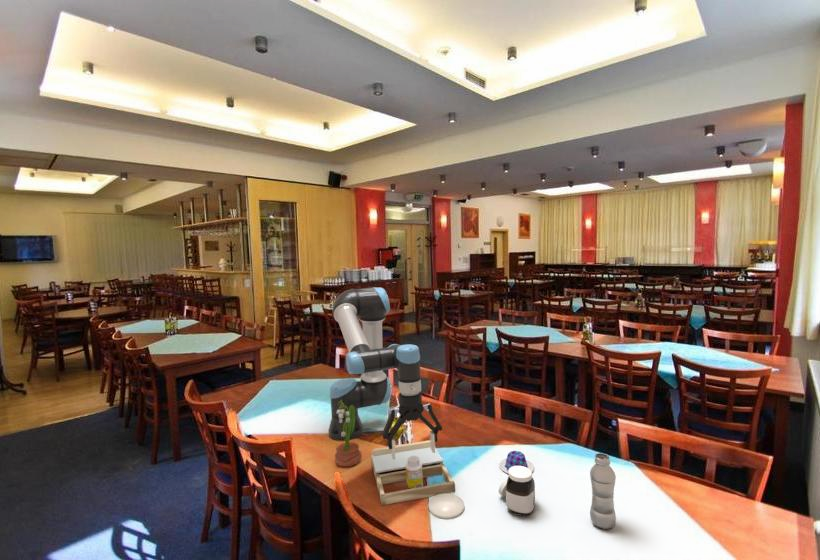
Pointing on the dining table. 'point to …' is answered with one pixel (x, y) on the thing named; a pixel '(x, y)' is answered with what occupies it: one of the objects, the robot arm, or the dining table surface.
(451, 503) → the saucer
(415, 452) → the lid
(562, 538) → the dining table surface
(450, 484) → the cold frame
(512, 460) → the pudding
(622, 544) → the dining table surface
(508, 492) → the spread jar
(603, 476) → the plastic bottle
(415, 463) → the supplement bottle
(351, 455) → the potted flower
